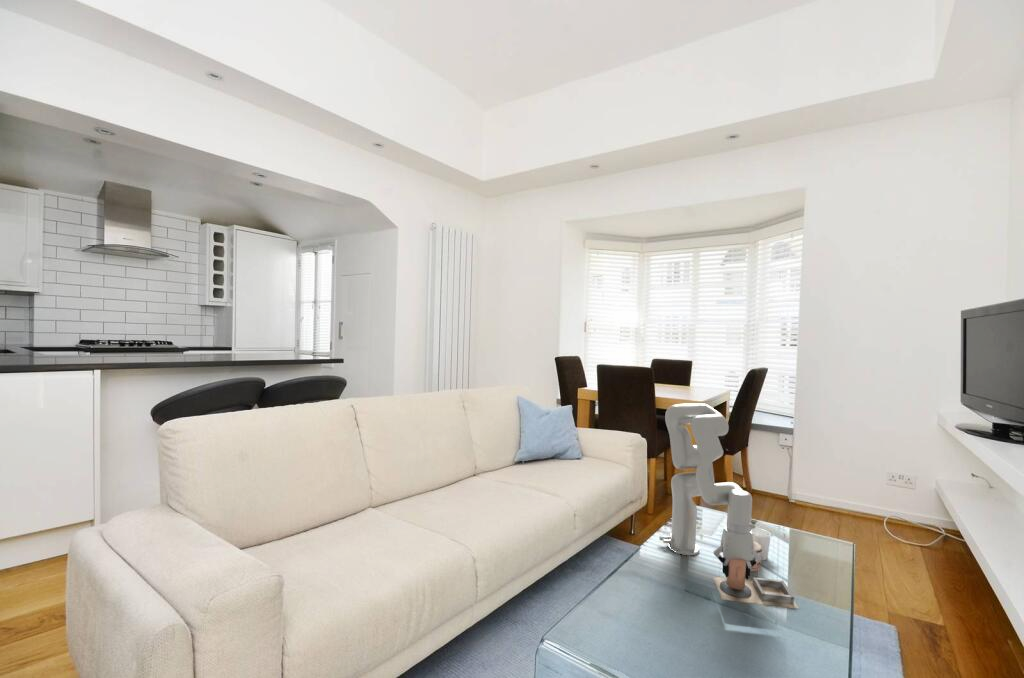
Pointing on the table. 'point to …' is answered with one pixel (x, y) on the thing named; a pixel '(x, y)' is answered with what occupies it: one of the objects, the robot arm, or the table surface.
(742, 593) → the board
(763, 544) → the white cup
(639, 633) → the table surface
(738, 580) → the peach rounded peg
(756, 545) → the teacup with lid
